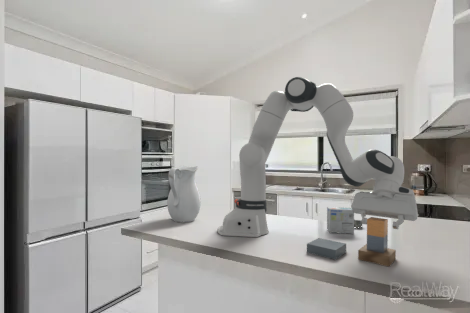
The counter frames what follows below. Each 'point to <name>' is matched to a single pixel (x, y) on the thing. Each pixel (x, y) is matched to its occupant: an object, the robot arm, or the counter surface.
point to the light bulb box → (340, 219)
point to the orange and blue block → (377, 234)
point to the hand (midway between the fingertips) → (379, 225)
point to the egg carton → (357, 223)
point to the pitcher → (183, 194)
